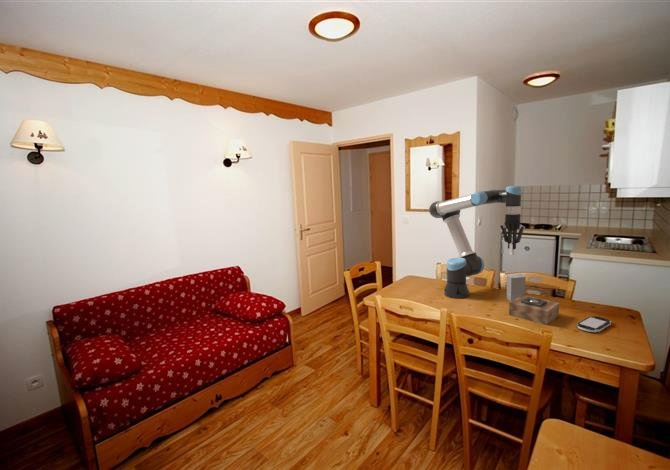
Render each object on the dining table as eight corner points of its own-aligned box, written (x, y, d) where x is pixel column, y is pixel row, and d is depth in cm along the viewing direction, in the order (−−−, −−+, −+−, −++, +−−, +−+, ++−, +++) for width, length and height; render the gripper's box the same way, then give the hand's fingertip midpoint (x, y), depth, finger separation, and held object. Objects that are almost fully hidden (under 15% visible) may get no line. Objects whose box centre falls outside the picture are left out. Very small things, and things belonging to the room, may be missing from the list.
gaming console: (595, 336, 144) (595, 331, 144) (572, 329, 152) (573, 324, 152) (613, 324, 154) (614, 319, 154) (591, 318, 162) (592, 313, 161)
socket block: (508, 314, 171) (509, 300, 170) (521, 306, 180) (522, 293, 179) (547, 325, 157) (547, 309, 156) (558, 315, 166) (559, 301, 165)
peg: (527, 314, 169) (528, 300, 168) (530, 312, 171) (531, 298, 170) (536, 317, 166) (536, 302, 165) (539, 314, 168) (539, 300, 167)
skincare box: (520, 298, 193) (520, 273, 191) (525, 302, 186) (526, 276, 184) (505, 298, 194) (506, 273, 191) (510, 302, 187) (511, 277, 184)
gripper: (497, 213, 182) (497, 254, 185) (522, 214, 171) (521, 257, 175) (504, 212, 186) (503, 251, 190) (528, 213, 176) (526, 254, 180)
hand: (511, 254), depth 182 cm, fingers closed
